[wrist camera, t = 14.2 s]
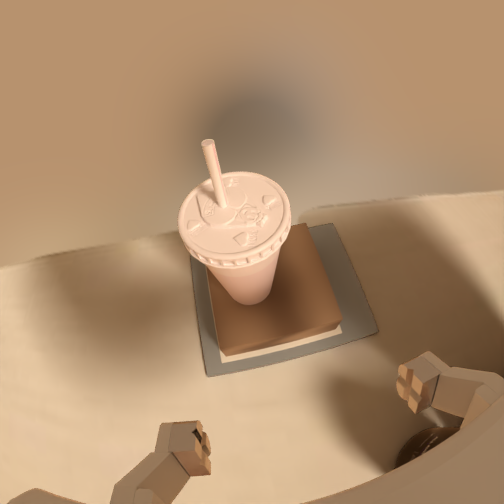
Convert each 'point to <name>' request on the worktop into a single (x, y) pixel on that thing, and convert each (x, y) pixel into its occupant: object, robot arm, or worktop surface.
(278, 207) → the smoothie
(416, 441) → the supplement bottle
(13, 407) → the worktop surface
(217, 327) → the base block
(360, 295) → the mat
